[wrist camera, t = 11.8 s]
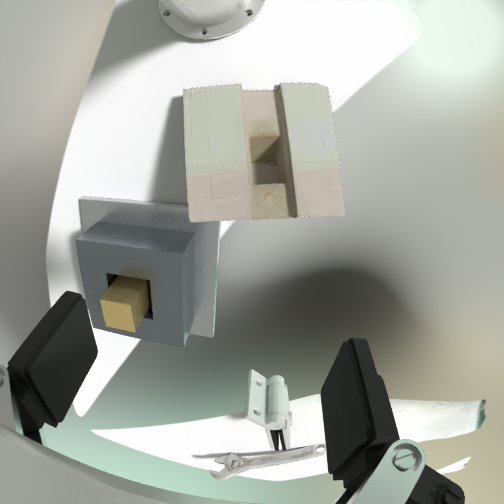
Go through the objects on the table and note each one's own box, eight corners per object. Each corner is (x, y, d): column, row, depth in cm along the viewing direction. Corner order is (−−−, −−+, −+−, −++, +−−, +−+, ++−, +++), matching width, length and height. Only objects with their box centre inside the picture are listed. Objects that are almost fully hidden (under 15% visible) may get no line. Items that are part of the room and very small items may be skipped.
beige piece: (188, 133, 37) (188, 242, 33) (179, 87, 28) (173, 210, 24) (312, 128, 38) (334, 232, 34) (327, 84, 30) (362, 200, 26)
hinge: (247, 369, 50) (243, 416, 41) (277, 363, 48) (277, 410, 39) (274, 410, 55) (273, 452, 46) (299, 405, 54) (301, 447, 45)
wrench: (323, 436, 65) (212, 456, 67) (322, 433, 64) (209, 453, 66) (329, 461, 57) (211, 481, 59) (329, 459, 57) (208, 478, 59)
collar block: (84, 196, 37) (54, 214, 31) (222, 209, 37) (211, 231, 31) (100, 310, 46) (81, 337, 40) (214, 332, 46) (206, 365, 40)
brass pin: (132, 258, 40) (99, 299, 31) (159, 261, 40) (130, 305, 31) (135, 282, 41) (106, 326, 32) (160, 286, 41) (135, 332, 32)
